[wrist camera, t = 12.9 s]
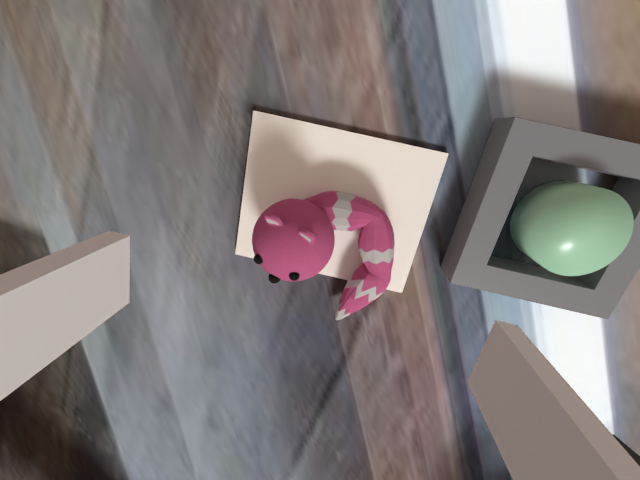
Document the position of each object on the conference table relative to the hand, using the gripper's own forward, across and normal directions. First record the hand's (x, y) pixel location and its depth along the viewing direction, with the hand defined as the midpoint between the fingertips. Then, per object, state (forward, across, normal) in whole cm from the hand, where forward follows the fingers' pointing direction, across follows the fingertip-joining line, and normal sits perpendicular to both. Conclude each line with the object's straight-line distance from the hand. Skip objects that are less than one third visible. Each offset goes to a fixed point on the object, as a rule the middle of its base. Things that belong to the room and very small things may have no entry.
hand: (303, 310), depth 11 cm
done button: (+14, +16, +3) cm, 22 cm away
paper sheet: (+16, 0, 0) cm, 16 cm away
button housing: (+16, +16, +3) cm, 23 cm away
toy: (+16, 0, -3) cm, 16 cm away
